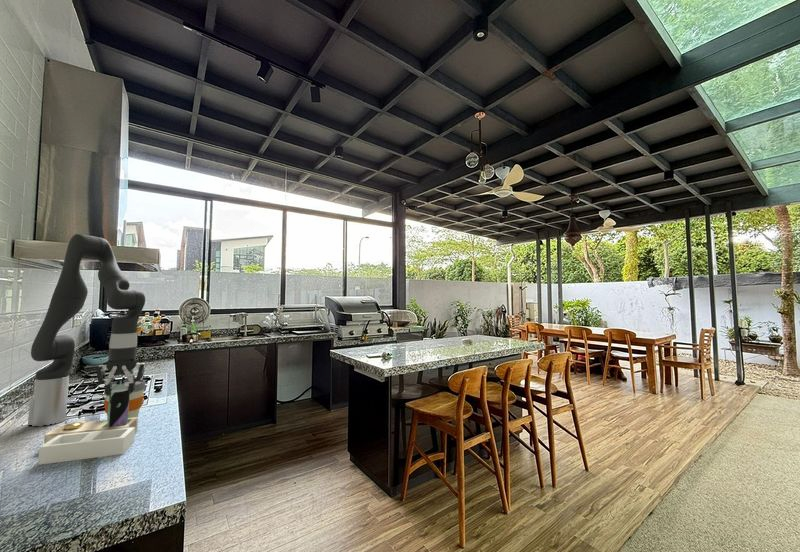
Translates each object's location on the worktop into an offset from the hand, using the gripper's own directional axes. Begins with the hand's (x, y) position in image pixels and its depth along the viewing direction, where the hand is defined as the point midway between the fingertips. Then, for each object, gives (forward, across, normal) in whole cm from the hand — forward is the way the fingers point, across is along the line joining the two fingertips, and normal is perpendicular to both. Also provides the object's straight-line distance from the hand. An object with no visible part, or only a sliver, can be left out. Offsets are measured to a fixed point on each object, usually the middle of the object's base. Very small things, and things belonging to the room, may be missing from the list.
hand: (119, 394), depth 114 cm
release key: (+14, +12, 0) cm, 19 cm away
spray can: (+15, 0, 0) cm, 15 cm away
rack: (+15, +3, +10) cm, 19 cm away
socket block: (+15, +6, 0) cm, 16 cm away
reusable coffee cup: (+15, +4, -17) cm, 23 cm away
